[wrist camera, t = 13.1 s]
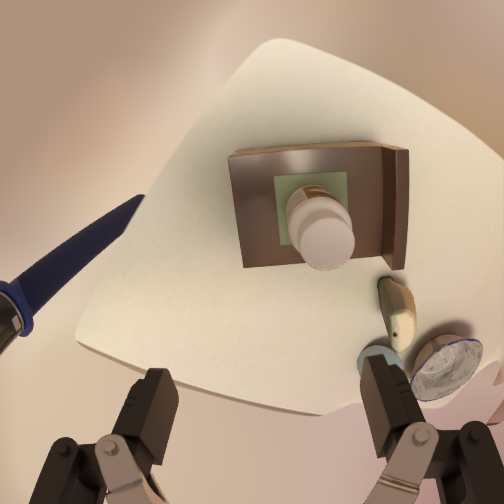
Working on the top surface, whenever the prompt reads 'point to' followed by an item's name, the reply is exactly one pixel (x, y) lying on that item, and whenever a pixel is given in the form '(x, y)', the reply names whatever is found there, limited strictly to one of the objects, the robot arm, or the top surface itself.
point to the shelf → (332, 178)
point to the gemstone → (376, 349)
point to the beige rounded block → (397, 312)
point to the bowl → (444, 366)
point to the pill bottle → (319, 227)
